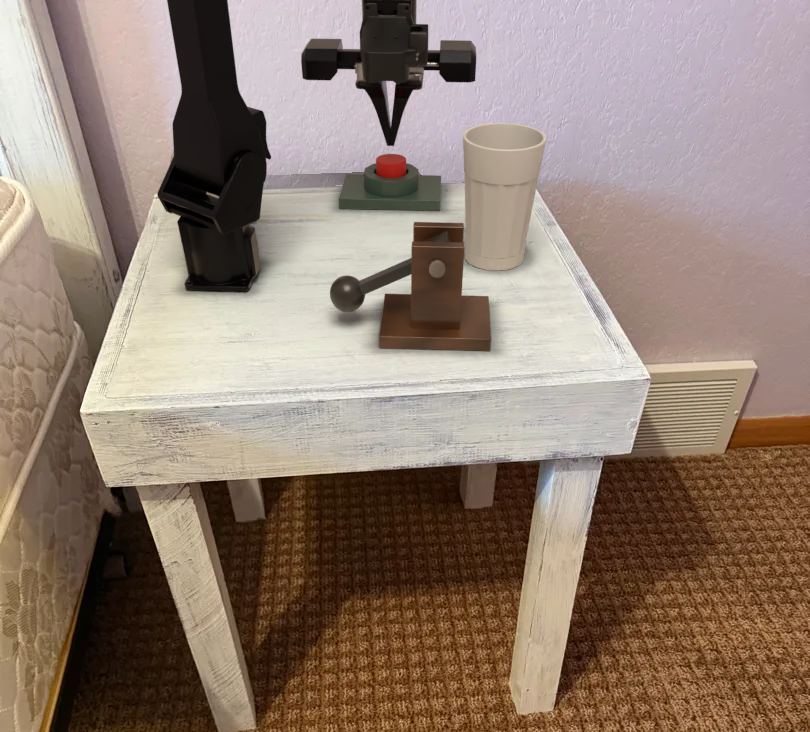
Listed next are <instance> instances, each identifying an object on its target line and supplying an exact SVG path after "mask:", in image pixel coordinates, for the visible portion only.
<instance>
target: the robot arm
mask: <svg viewBox="0 0 810 732" xmlns="http://www.w3.org/2000/svg"><path fill="white" fill-rule="evenodd" d="M417 1H418V0H361V16H362V17H361V20H362V21H361V25H360V28H359V48H344V47H343V46H344V45H343V41H342V38H311V39H309V41H308V42H307V44H306V45H305V47H304V49H303V50H302V52H301V57H300V64H301V77H302V79H303V80H305V81H332V80H333V78H334V77H335V76H336V75H337V73H338V72H339V70H354V73H355V74H356V80H355V82H354V83H355V88H356V89H358V90H364V91H365V93H366V94H367V96H368V97H369V99H370V101H371V103H372V105H373V107H374V110H375V112H376V115H377V118H378V121H379V125H380V129H381V131H382V134H383V137H384V142H385V143H386V146H387V147H394V146H395V143H396V140H397V136H398V132H399V129H400V125H401V122H402V117H403V114H404V112H405V109H406V106H407V104H408V101H409V99H410V97H411V95H412V93H413V91H419V90H422V89H423V86H424V85H423V84H424V76H425V71H436V72H437V71H438V74H439V76H440V77H441V78H442V79H443V80H444V81H445V83H473V82H476V73H477V47H476V45H475V44H474V43H473V41H472V40H451V39H450V40H449V39H448V40H447V39H445V40H444V39H441V40H440V42H439V43H440V44H439V49H429V24H428V23H417V6H418V5H417V4H418V3H417ZM166 3H167V9H168V15H169V21H170V26H171V27H170V28H171V33H172V39H173V45H174V50H175V56H176V62H177V68H178V75H179V80H180V81H179V82H180V87H181V94H180V98H179V101H178V104H177V107H176V111H175V114H174V117H173V120H172V141H173V145H172V146H173V149H174V157H173V159H172V161H171V164H170V163H169V166H168V168H167V170H166V172H165V175H164V177H163V179H162V181H161V184H160V186H159V188H158V191H157V198H158V200H159V201H160V203H161V205H162V206H163V208H164V210H165V212H166V213H169V214H174V215H176V216H178V217H179V218H178V219H177V227H178V231H179V238H180V242H181V246H182V250H183V256H184V260H185V265H186V270H187V275H188V276H187V278H186V280H185V282H184V288H185V290H190V291H194V290H195V291H228V292H229V291H235V292H246V291H248V290H250V289H251V287H252V284H253V281H254V278H256V276H257V275H258V272H259V271H260V269H261V258H260V252H259V245H258V244H259V243H258V237H257V229H256V228H255V227H254V226H253V225H252V226H250V225H251V224H253V223H255V222H258V221H259V220H260V218H261V212H262V211H261V210H262V201H263V193H264V185H265V182H266V179H267V174H268V173H267V172H268V165H267V164H268V163H267V160H269V161H270V160H271V159H272V154H271V153H270V150H269V147H268V142H267V119H266V116H265V111H263V110H261V109H257V108H254V107H250V106H247V104H246V102H245V100H244V97H243V96H242V94H241V92H240V89H239V83H238V76H237V67H236V59H235V50H234V43H233V42H234V41H233V35H232V27H231V18H230V10H229V1H228V0H166ZM387 82H393V83H395V84H394V95H393V106H392V114H390V113H391V112H390V104H389V103H390V102H389V96H388V95H389V94H388V86H387ZM207 192H208V193H211V194H214V195H217V196H219V198H216V197H213V196H211V195H208V194H207Z"/></svg>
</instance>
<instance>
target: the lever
mask: <svg viewBox="0 0 810 732" xmlns="http://www.w3.org/2000/svg"><path fill="white" fill-rule="evenodd" d="M423 242H452V240H451V238H450V236H449V233H448V231H445V232H443V233H440V234H438V235H436V236H434V237H432V238H429V239H427V240H425V241H423ZM408 276H409V277H410V276H411V257H410V258H408V259H406V260H403V261H401V262H398V263H397V264H394V265H392V266H390V267H388V268H385V269H383V270H380V271H378V272H375V273H374V274H371V275H370V276H367V277H364V278H363V279H360V280H359V279H358V278H357V277H356V276H353V275H349V274H348V275H347V274H346V275H341V276H339V277H337V278H336V279H335V280H333V282H332V284H331V286H330V288H329V299H330V302H331V304H332V305H333V306H334V307H335V309H337V310H338V311H340V312H343V313H353V312H356V311H357V310H359V309H360V308H361V307H362V305H363V304H364V302H365V298H366V295H367V294H369V293H371V292H374V291H376V290H378V289H381V288H384V287H386V286H388V285H390V284H392V283H395V282H398V281H399V280H402V279H404V278H406V277H408Z"/></svg>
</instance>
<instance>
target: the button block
mask: <svg viewBox="0 0 810 732" xmlns="http://www.w3.org/2000/svg"><path fill="white" fill-rule="evenodd" d="M363 170H364V171H363V173H345V175H344V179H343V182H342V185H341V189H340V192H339V195H338V206H339V207H338V208H339V210H382V211H383V210H385V211H426V212H427V211H431V212H433V211H436V212H440V211H441V197H442V196H441V195H442V193H441V192H442V175H435V174H433V175H429V174H428V175H427V174H419V173H420V172H419V168H417V167H416V166H415V165H413V164H412V163H407V162H406V175H405V176H402V177H397V178H385V177H381V176H377V175H376V162H375V163H372V164H370V165H368V166H366V167H364V169H363Z"/></svg>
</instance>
